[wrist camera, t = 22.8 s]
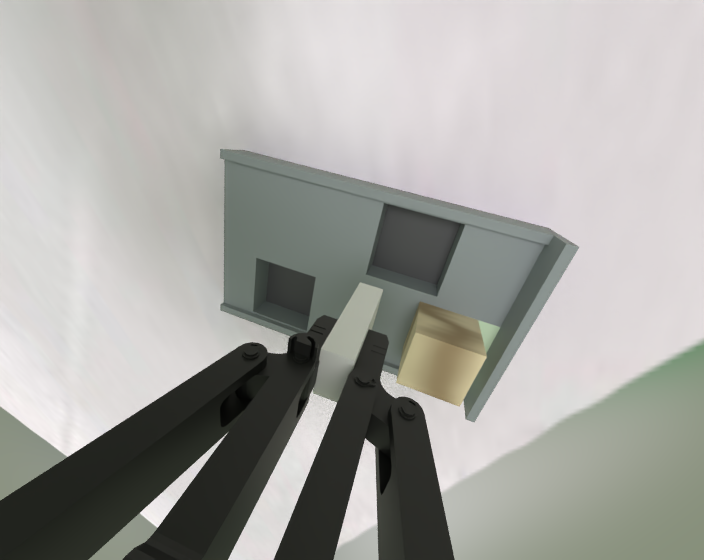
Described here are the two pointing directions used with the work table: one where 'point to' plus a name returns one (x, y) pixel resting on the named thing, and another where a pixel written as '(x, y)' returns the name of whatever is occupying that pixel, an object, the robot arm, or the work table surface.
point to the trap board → (380, 259)
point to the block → (441, 354)
